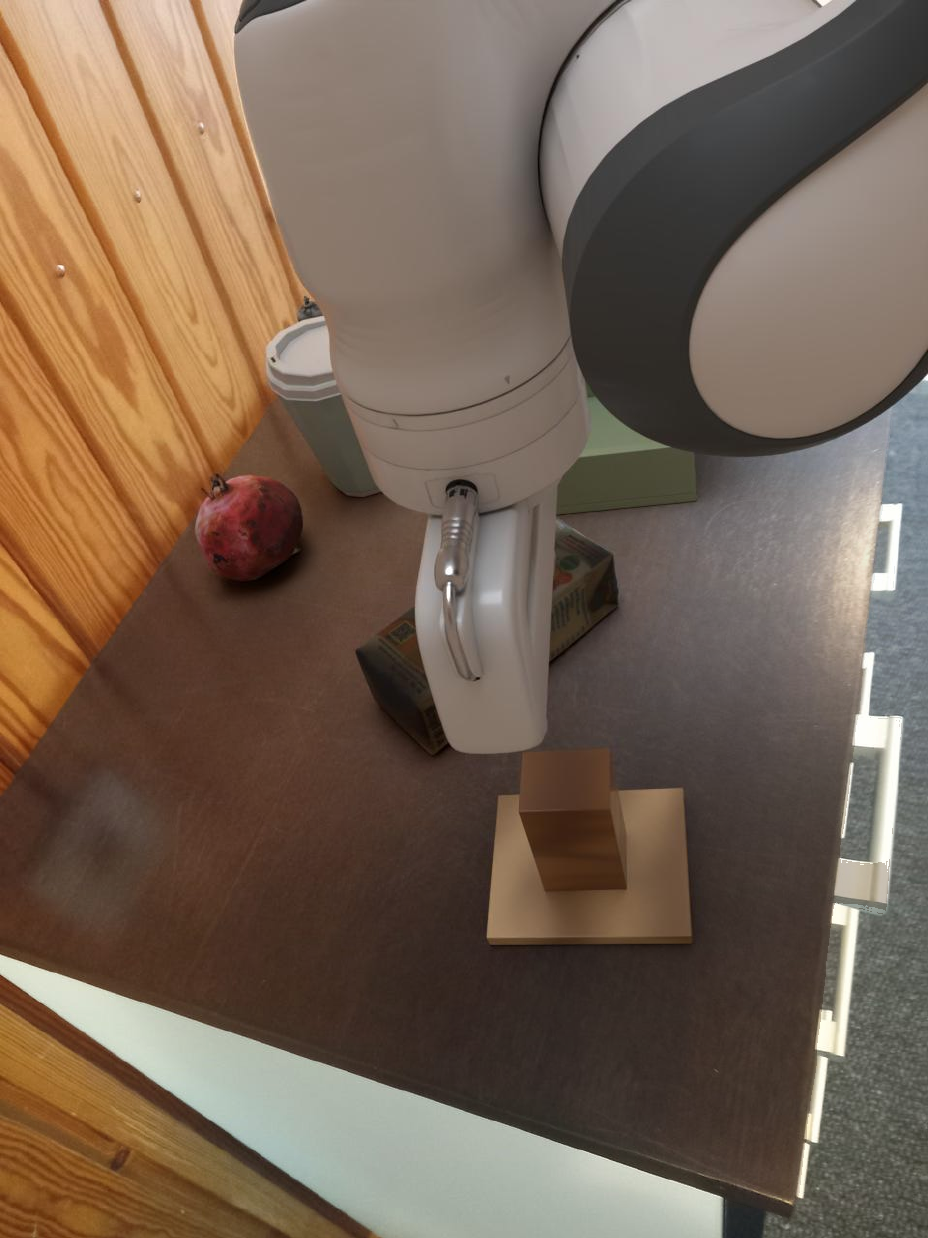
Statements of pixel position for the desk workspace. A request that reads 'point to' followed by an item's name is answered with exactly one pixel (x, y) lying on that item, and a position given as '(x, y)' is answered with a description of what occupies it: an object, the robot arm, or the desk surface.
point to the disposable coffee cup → (318, 403)
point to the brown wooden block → (574, 819)
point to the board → (597, 916)
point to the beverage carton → (576, 608)
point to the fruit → (248, 526)
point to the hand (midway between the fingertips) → (534, 643)
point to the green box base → (624, 469)
